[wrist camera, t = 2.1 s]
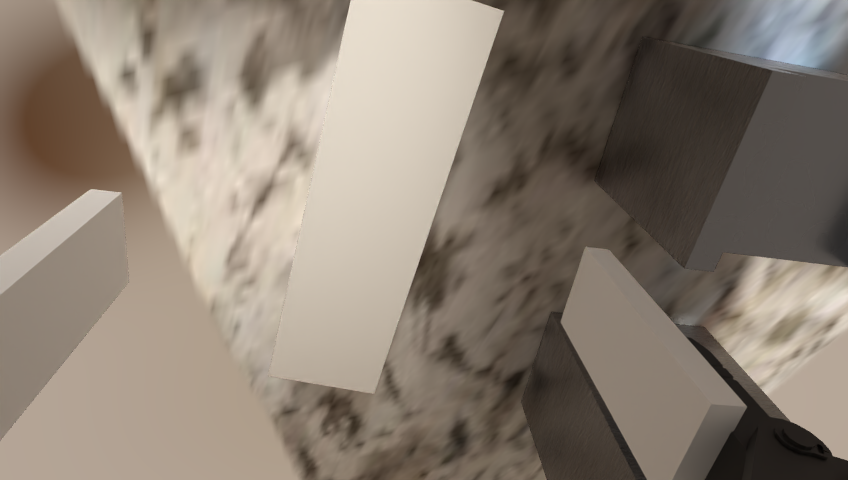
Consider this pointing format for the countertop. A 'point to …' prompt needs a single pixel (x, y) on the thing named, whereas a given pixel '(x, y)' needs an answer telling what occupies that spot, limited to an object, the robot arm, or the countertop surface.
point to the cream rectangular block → (378, 182)
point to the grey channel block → (731, 156)
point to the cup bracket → (594, 410)
